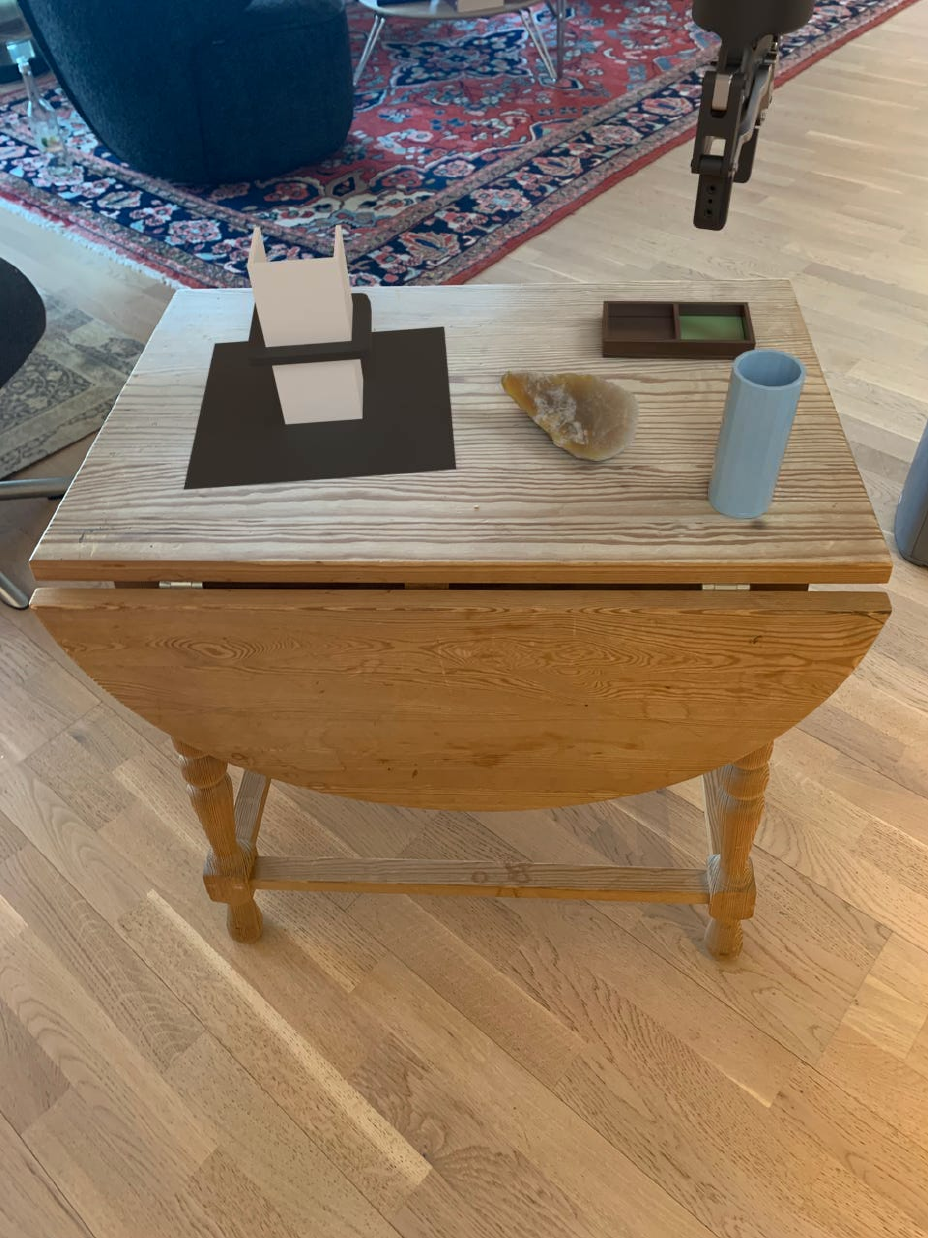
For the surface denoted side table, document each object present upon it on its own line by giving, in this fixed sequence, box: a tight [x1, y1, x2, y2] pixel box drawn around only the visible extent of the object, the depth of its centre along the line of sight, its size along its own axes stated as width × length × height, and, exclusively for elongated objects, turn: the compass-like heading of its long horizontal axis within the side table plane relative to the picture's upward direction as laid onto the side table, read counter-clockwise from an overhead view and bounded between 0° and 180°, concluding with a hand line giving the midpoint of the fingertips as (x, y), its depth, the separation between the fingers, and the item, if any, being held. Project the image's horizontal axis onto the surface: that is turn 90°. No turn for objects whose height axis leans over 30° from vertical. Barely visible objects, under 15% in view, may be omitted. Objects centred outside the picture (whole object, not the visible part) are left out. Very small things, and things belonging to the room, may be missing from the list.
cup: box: [706, 348, 808, 520], centre depth 75 cm, size 5×5×13 cm
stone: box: [500, 369, 640, 462], centre depth 85 cm, size 7×6×15 cm
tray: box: [601, 300, 757, 361], centre depth 96 cm, size 8×15×2 cm, turn 84°
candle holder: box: [183, 224, 457, 490], centre depth 86 cm, size 25×24×16 cm
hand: (722, 203), depth 68 cm, fingers open, 8 cm apart
